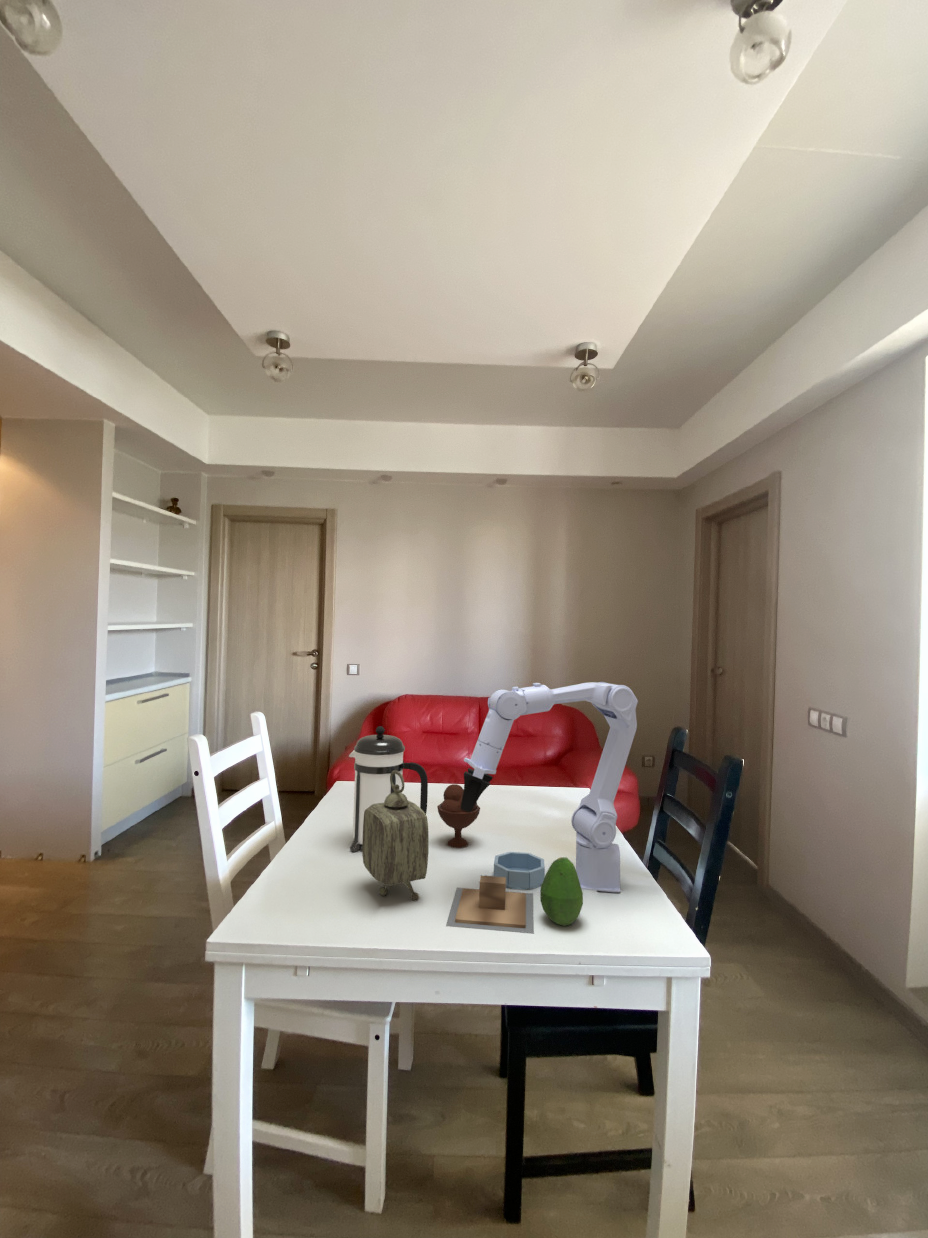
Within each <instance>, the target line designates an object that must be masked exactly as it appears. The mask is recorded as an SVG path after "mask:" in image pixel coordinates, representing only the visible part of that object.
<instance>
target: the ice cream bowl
mask: <svg viewBox="0 0 928 1238" xmlns="http://www.w3.org/2000/svg"><path fill="white" fill-rule="evenodd" d="M463 792H464V787H463V786H461V785H459V784H458V783H457V784H454V783H452V784H450V785H447V787H446V788H445V789H444V791H443V796H442V797H443V801H442V802H441V803H440V804H438V805H437V812H438V815H439V817H440V819H441V820H442V821H443V822H444V823H445V825H446V826H448V827H450V828H452V829H453V830H454V836H453V837H451V838H450V839H449V840H447V843H446V844H447V846H448V847H450V846H451V848H454V849H455V848H456V849H461V848H465V847H466V848H467V846H468V845H469V842H468V841H467V840H466V839H465V837H462V830H463V829H465V828H468V827H469V826H470V825H472V824H473V823H474V822H475V820H477V819H478V817H479V815H480V811H481V807H480V806H479V805H478V801H477V802H476V804H475V806H474V808H473V809H472V811H471V812H470V813H469V812H467V811H464V810H462V809H461V802H462V797H463Z"/></svg>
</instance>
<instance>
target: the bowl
mask: <svg viewBox="0 0 928 1238" xmlns="http://www.w3.org/2000/svg"><path fill="white" fill-rule="evenodd" d="M545 868H546V866H545V859H544V858H542V857H540V856H538V855H536V854H532V853H531V852H519V851H507V852H504V853H501V854H497V855H495V856H494V861H493V876H495V877H506V888H508V889H513V890H521V891H523V890H533V889H536V888H539V887H541V886H542V883H543V881H544V878H545V875H546V872H545Z"/></svg>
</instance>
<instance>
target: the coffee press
mask: <svg viewBox="0 0 928 1238" xmlns="http://www.w3.org/2000/svg"><path fill="white" fill-rule="evenodd" d="M375 732H376V733H375V734H370V735H366V736H363V737H361V738H360V739H358V740H357V742H356V745H354V747H353V748H354V749H353V751H352V752H351V753H349V755H348V757H349V758H354V759H355V760H354V767H353V769H354V787H353V788H354V793H353V795H354V796H353V818H352V819H353V824H352V825H353V826H352V837H353V841H352V842H351V845H350V847H349V849H350V851H351V852H353V853H356V852H357V853H358V851H359V849H360V848H361V847H362V846H363V820H364V812H365V810H366V809H367V808H368V807H370V806H371V805H372V804H377V803H384V801H385V799H386V797H387V796H388V795H389V794H391V793H394V790H393V788H392V787H391V783H390V775H391V772H392V771H394V770H396V771H398V772H400V773H401V774H402V775H403V770H410V771H414V772H416V773H417V774H418V775H419V778H420V803H419V805H420V806H419V807H420V808H421V809H422V810H423V811H424V813H425V814H426V815H427V811H428V789H429V788H428V787H429V784H428V783H429V780H428V774H427V772H426V769H425V768H424V767H423V766H422V765H420V764H419V763H417V762H411V761H410V762H405V761H404V752H405V750H406V746H405V745H404V743H403V741H402V740H401V739H400V738H398V737H397V736H395V735H388V734H385V732H386V729H385V728H384V727H383V726H381V725H379V726H377V727H376V728H375ZM392 782H393V784H394V786H395V785H396V784H398V785H399V790H401V789H402V781H401V779H400V777H399V776H398V775H397V774H393V776H392ZM401 793H403V792H401Z"/></svg>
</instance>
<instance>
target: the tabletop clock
mask: <svg viewBox="0 0 928 1238" xmlns="http://www.w3.org/2000/svg"><path fill="white" fill-rule="evenodd" d="M393 774H397V775H398V776H399V777H400V779H401V781H402V789H401V790H399V785H398V784H396V785H395V786H394V784H393V782H392V776H393ZM390 783H391V787H392V788H393V790H394V793H391V794H389V795H388V796H387V797H386V799H385V801H384V803H377V804H372V805H371V806H370V807H368V808H367V809H366V810H365V812H364V820H363V846H361V847H362V863H363V865H364V867H365V869H366V871H368V872H369V874H370V876H372V877H373V878H374V879H375V880H376V881H377V882H378V883H381V884H383V885H382V887H380V888H379V895H380V896H382V897H383V896H386V894H387V893H388V889H387V886H389V887H391V886H396V885H400V884H404V885H406V886H407V888H408V890H409V891H410V893H411V894H410V898H411V900H412V901H414V902H416V901H418V900H419V899H420V894H419V893H418V892H416V891H414V888H413V886H412V883H411V882H414V881H419V880H425V879H426V876H427V873H428V865H429V864H428V863H429V850H430V849H429V848H430V847H429V846H430V845H429V842H430V841H429V823H428V821H429V820H428V816H427V813H426V814H425V813H424V811H423V810H422V809H421V808H420V806H418V804H416V803H415V802H413V801H410V800H408V797H407V796H406V794H405V793H403V791H404V789H405V778H404V776H403V773H402V774H401V773H400V772H398V771H396V770H394V771H392V772H391V775H390ZM401 792H402V793H401Z"/></svg>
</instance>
